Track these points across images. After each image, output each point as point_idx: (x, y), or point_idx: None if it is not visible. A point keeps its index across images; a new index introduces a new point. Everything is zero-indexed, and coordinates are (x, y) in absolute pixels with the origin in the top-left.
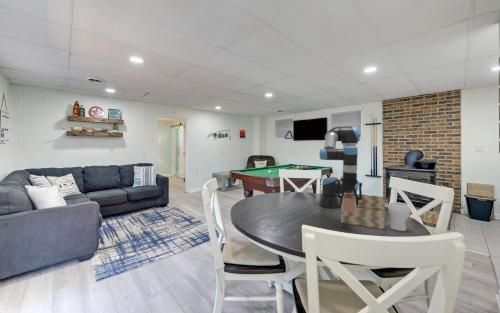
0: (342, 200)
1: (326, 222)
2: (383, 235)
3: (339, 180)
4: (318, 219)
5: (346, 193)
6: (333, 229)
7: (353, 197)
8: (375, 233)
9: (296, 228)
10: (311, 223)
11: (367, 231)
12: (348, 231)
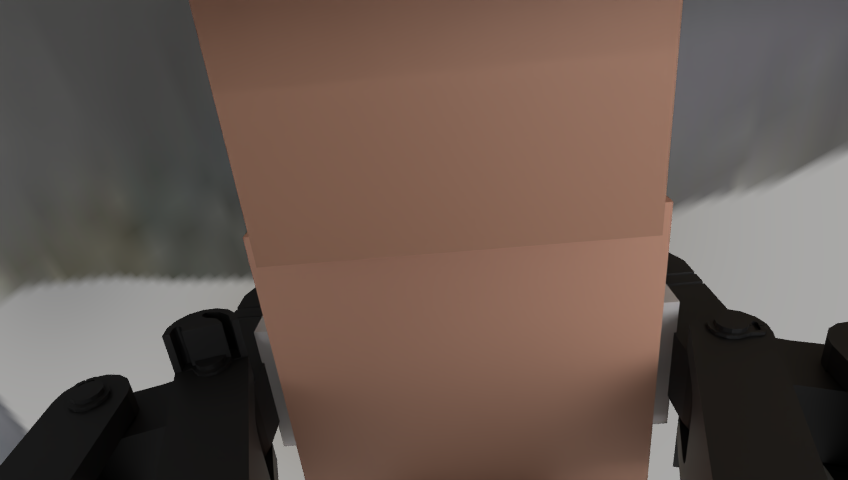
0: None
1: (158, 88)
2: (829, 149)
3: None
4: (16, 27)
5: (288, 186)
6: None
7: (608, 388)
8: (749, 136)
9: (10, 416)
10: (36, 224)
11: None
12: None
